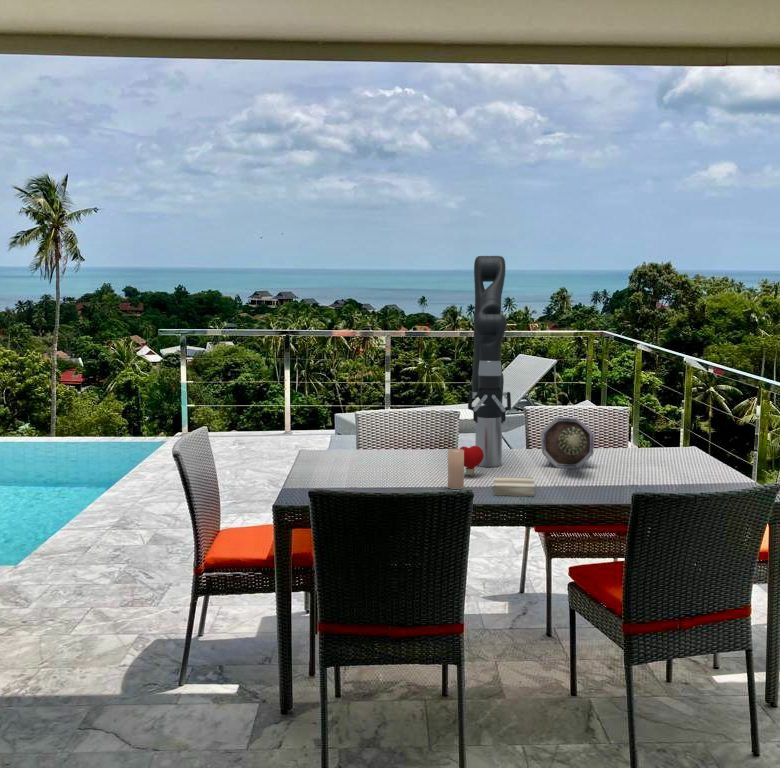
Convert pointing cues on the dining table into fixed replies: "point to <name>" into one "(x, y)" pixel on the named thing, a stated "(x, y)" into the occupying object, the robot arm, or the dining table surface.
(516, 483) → the base slab
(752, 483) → the dining table surface
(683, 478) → the dining table surface
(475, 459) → the red heart
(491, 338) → the robot arm
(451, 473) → the tall pink cylinder
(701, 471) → the dining table surface
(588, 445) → the potted plant
